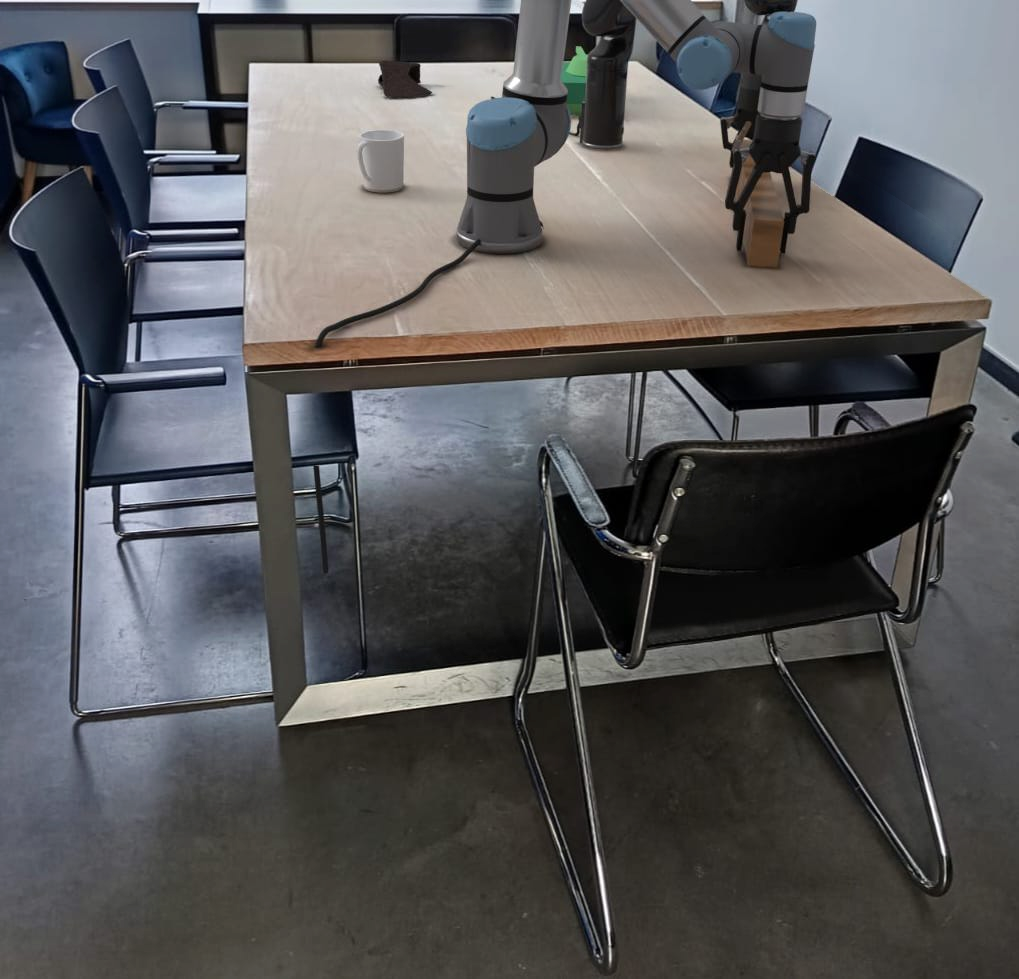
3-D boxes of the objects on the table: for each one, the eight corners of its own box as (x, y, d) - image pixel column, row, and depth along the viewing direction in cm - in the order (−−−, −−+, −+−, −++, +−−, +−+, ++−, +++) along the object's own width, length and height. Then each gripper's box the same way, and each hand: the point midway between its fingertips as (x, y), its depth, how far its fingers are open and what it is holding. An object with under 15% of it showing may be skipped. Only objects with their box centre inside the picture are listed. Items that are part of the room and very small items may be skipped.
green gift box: (609, 43, 301) (626, 67, 271) (606, 89, 307) (622, 119, 277) (545, 41, 300) (555, 66, 270) (543, 88, 306) (553, 117, 276)
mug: (383, 178, 227) (381, 127, 222) (414, 186, 223) (413, 135, 217) (344, 189, 220) (341, 137, 215) (376, 198, 215) (373, 145, 210)
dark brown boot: (443, 87, 294) (392, 77, 287) (436, 115, 299) (385, 106, 292) (421, 62, 307) (371, 52, 300) (414, 89, 311) (365, 80, 304)
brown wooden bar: (777, 267, 187) (784, 221, 182) (747, 266, 187) (754, 219, 183) (755, 179, 233) (761, 140, 229) (731, 178, 233) (736, 139, 229)
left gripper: (838, 112, 182) (815, 246, 194) (718, 107, 184) (703, 239, 196) (844, 123, 176) (820, 260, 188) (720, 117, 178) (704, 253, 190)
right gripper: (794, 82, 220) (781, 167, 228) (721, 79, 221) (712, 164, 230) (797, 90, 213) (784, 177, 222) (723, 86, 215) (713, 173, 223)
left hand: (760, 249), depth 192 cm, fingers open, 7 cm apart
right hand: (747, 170), depth 226 cm, fingers closed on brown wooden bar, 5 cm apart
